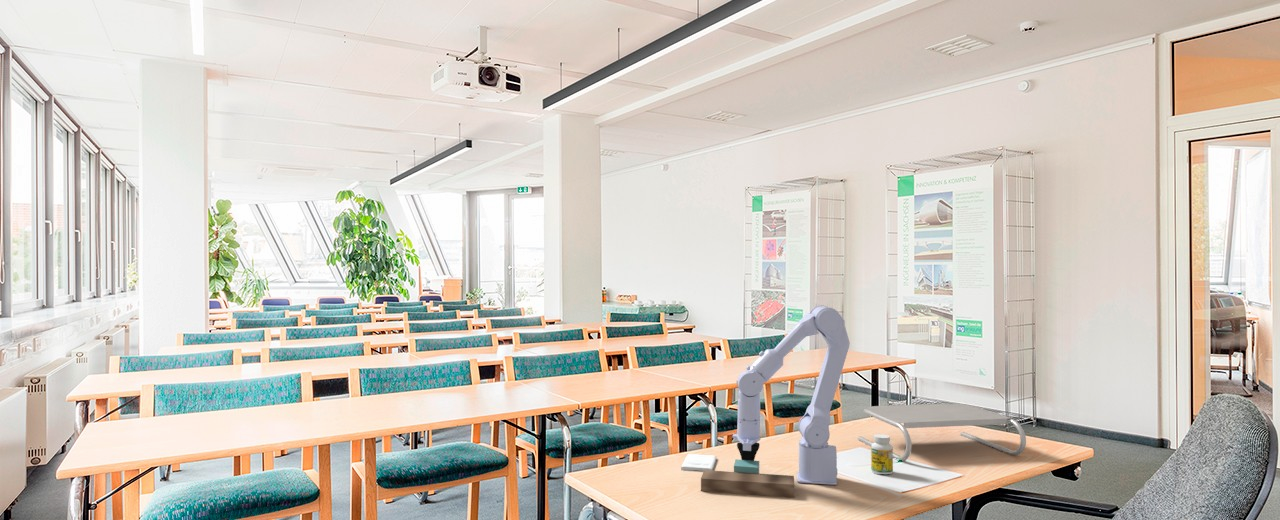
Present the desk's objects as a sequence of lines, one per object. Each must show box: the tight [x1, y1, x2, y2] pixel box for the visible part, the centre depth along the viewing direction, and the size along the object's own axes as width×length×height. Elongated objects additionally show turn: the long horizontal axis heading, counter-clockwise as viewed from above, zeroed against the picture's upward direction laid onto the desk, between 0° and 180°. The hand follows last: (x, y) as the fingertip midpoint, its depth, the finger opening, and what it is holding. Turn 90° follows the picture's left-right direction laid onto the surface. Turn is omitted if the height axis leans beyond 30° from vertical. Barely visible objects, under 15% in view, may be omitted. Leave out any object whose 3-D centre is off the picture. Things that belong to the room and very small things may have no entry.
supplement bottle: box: [870, 433, 894, 475], centre depth 186 cm, size 5×5×10 cm
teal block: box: [733, 459, 760, 474], centre depth 177 cm, size 6×5×4 cm
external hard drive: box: [680, 453, 717, 472], centre depth 192 cm, size 2×8×12 cm
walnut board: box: [700, 470, 795, 498], centre depth 171 cm, size 22×7×3 cm, turn 79°
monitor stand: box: [857, 403, 1027, 462], centre depth 209 cm, size 37×28×11 cm
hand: (747, 471), depth 180 cm, fingers closed, pressing on teal block
